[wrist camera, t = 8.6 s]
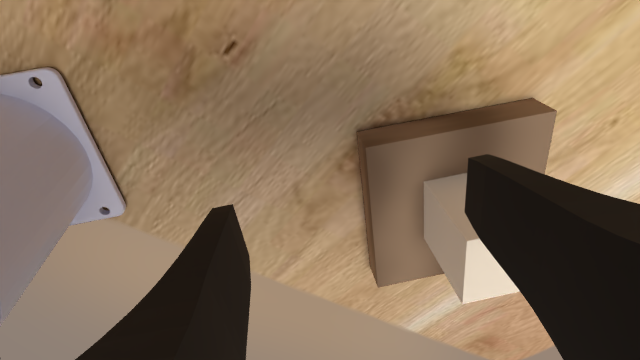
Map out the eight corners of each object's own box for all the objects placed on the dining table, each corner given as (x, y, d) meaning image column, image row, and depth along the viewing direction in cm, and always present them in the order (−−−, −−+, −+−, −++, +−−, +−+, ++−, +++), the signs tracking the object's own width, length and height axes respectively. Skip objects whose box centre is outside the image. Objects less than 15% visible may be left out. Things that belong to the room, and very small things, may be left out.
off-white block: (423, 238, 23) (462, 304, 19) (423, 181, 21) (467, 241, 16) (488, 224, 23) (541, 286, 19) (495, 166, 21) (556, 222, 17)
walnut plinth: (369, 265, 26) (377, 287, 24) (356, 131, 21) (365, 147, 19) (511, 236, 27) (528, 255, 25) (532, 98, 21) (556, 110, 20)
